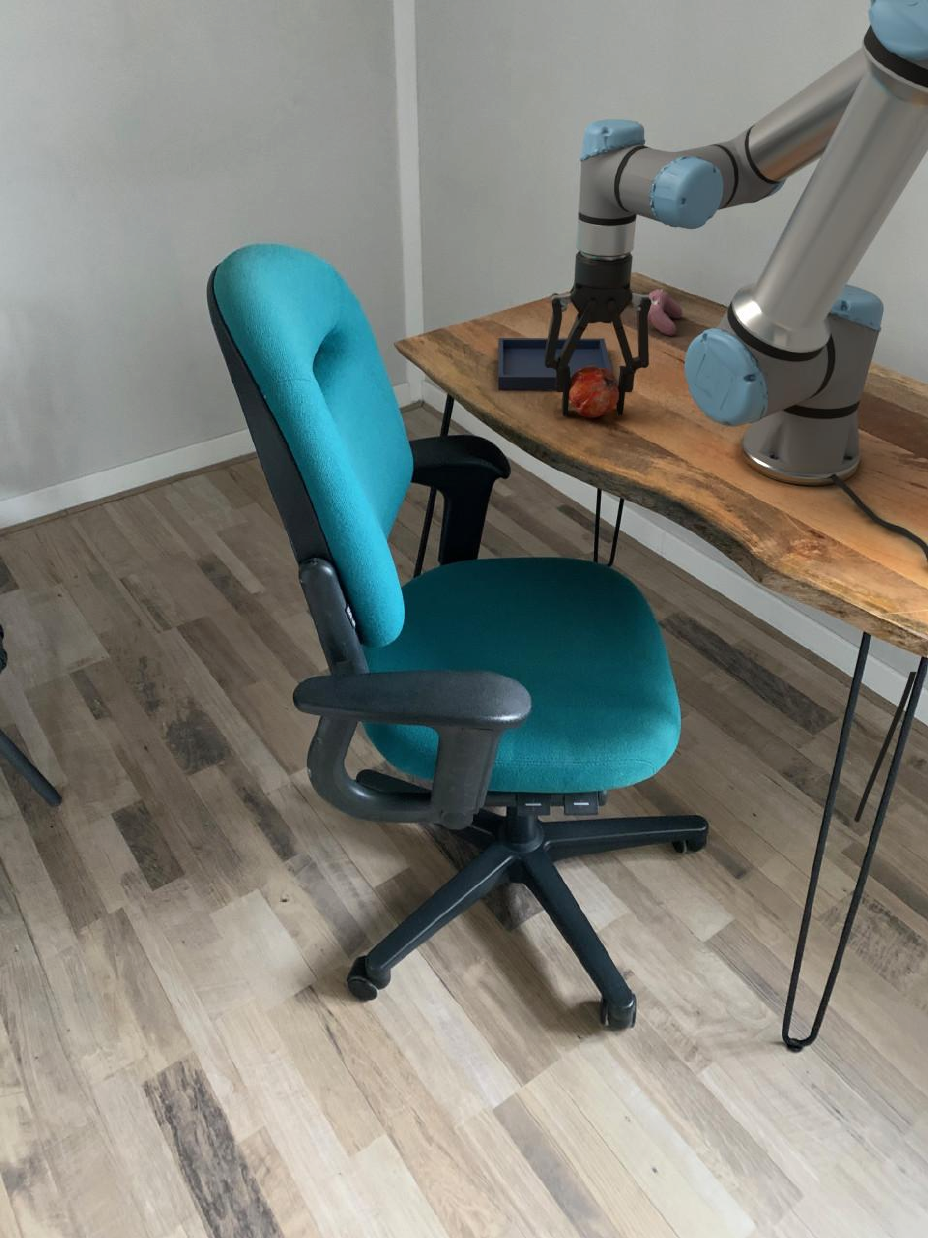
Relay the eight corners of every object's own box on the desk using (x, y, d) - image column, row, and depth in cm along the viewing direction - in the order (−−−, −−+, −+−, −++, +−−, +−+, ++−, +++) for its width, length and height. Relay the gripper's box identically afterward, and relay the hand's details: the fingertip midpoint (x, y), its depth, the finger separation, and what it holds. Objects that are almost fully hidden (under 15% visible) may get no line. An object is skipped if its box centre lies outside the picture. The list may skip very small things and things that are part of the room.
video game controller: (660, 323, 172) (647, 287, 169) (684, 314, 170) (671, 277, 167) (652, 343, 165) (637, 306, 162) (677, 334, 162) (663, 296, 159)
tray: (612, 390, 146) (613, 377, 145) (498, 389, 147) (498, 376, 146) (603, 350, 159) (604, 338, 157) (498, 349, 159) (498, 337, 158)
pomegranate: (558, 429, 141) (597, 410, 132) (546, 380, 140) (584, 358, 132) (598, 422, 144) (638, 404, 135) (587, 375, 144) (626, 353, 135)
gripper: (677, 242, 128) (657, 400, 142) (527, 243, 129) (522, 400, 143) (685, 260, 122) (664, 423, 136) (528, 260, 123) (523, 422, 137)
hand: (592, 411), depth 140 cm, fingers closed on pomegranate, 7 cm apart
